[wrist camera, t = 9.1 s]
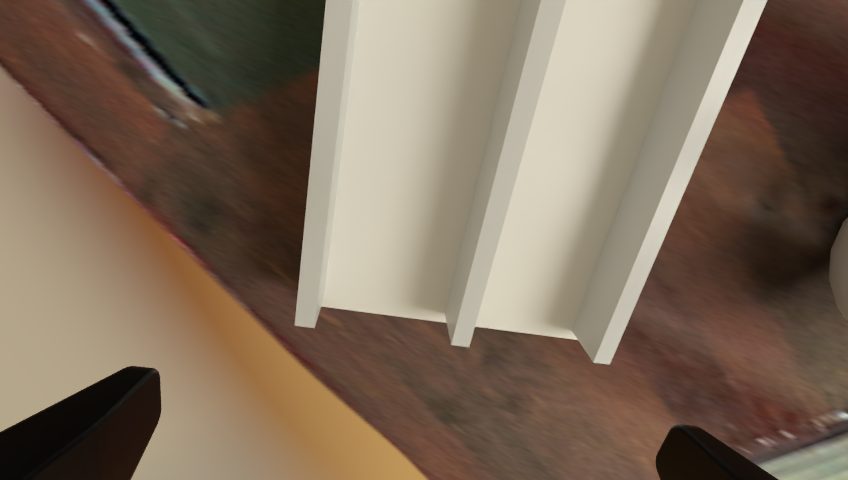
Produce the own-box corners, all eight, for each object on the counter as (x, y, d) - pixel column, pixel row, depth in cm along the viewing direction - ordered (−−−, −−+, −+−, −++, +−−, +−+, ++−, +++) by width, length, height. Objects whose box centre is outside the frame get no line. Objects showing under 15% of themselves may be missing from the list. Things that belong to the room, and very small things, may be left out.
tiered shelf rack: (715, -36, 16) (794, -62, 13) (575, 329, 22) (605, 373, 19) (355, -134, 15) (344, -191, 11) (309, 293, 21) (293, 335, 17)
